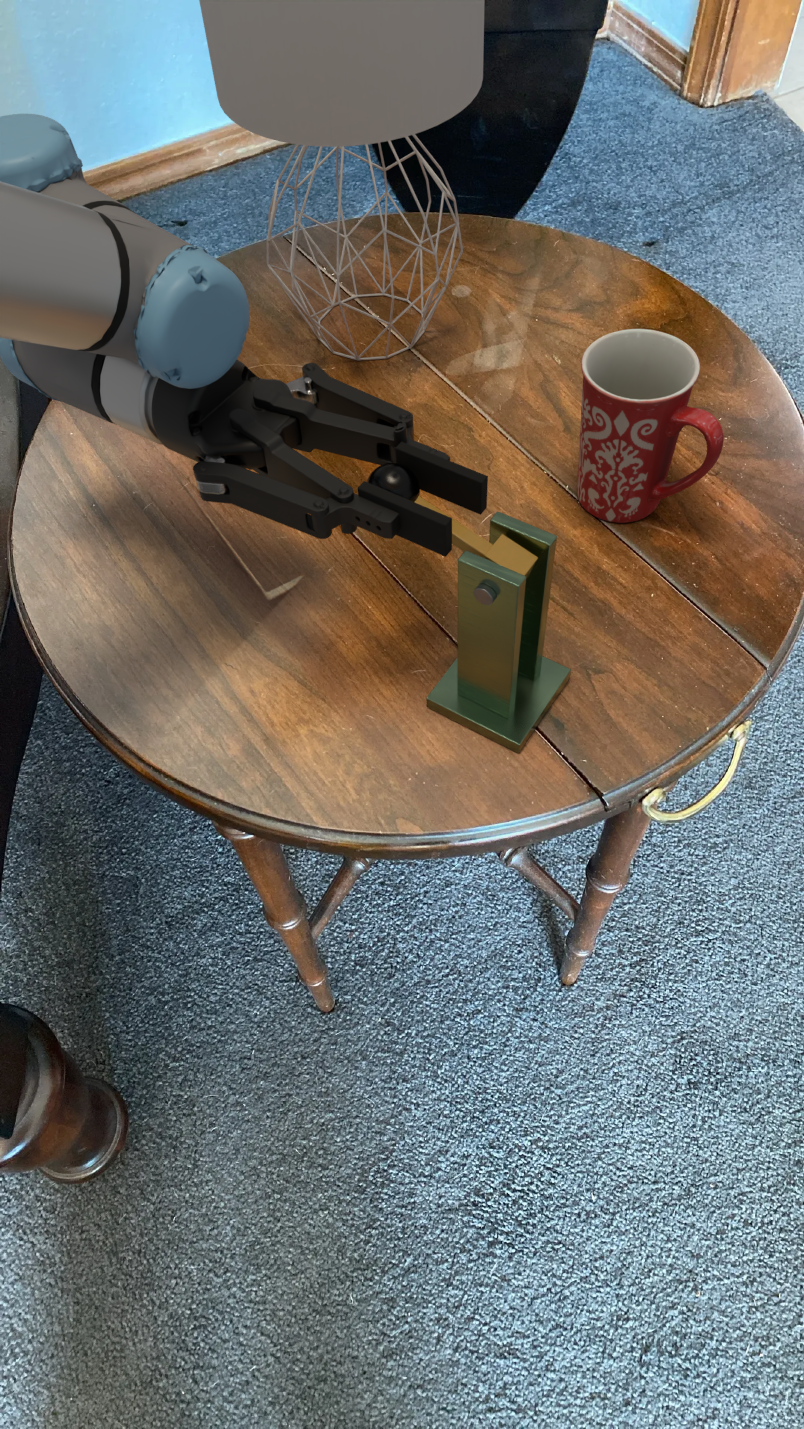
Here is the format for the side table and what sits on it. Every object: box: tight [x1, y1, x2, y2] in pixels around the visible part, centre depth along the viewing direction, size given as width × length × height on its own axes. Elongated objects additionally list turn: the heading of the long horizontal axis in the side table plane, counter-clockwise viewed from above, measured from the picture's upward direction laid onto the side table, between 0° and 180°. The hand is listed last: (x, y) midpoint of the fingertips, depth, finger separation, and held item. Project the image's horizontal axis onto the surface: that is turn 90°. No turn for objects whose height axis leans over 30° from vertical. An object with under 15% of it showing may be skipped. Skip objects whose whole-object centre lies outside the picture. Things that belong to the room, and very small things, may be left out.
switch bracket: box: [425, 511, 572, 754], centre depth 68 cm, size 8×8×16 cm
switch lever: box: [366, 463, 538, 579], centre depth 63 cm, size 12×4×4 cm, turn 57°
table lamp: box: [198, 0, 485, 362], centre depth 84 cm, size 22×22×40 cm
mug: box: [576, 328, 725, 524], centre depth 79 cm, size 13×9×14 cm
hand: (466, 516), depth 61 cm, fingers closed on switch lever, 4 cm apart
